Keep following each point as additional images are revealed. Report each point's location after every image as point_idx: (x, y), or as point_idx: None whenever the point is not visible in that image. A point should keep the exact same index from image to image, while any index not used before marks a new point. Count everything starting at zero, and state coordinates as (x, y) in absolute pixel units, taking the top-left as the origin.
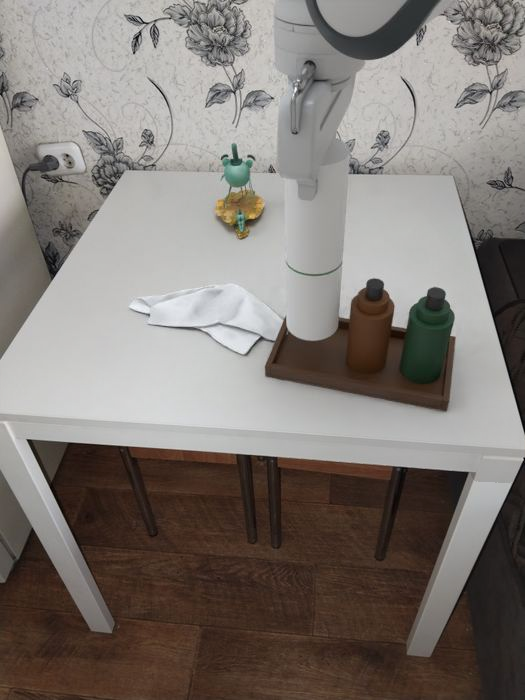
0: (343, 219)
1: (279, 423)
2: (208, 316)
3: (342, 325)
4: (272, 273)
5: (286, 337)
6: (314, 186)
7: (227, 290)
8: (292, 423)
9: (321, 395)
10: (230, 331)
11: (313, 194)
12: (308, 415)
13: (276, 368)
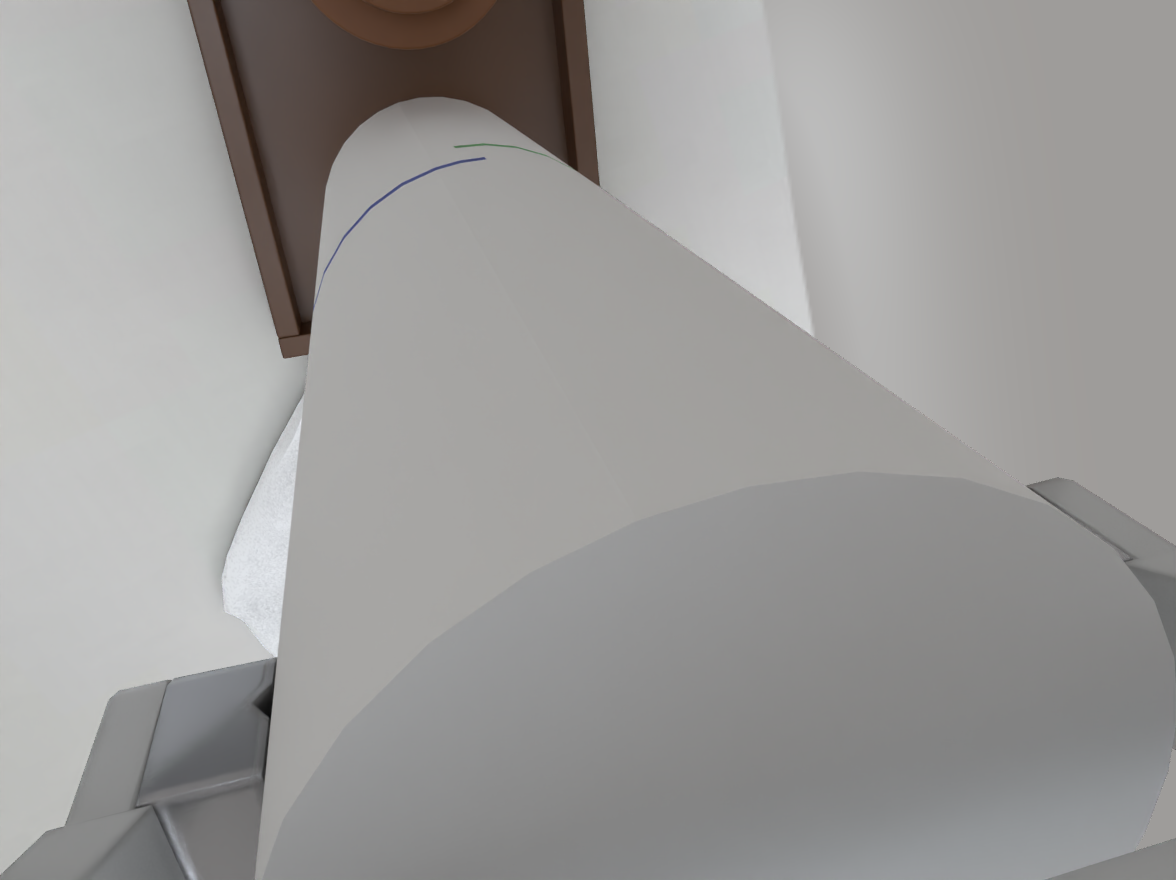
0: (569, 209)
1: (766, 160)
2: None
3: (245, 112)
4: (50, 518)
5: None
6: (1169, 545)
7: (276, 600)
8: (755, 120)
9: (614, 68)
10: None
11: (1103, 504)
12: (711, 81)
13: None
